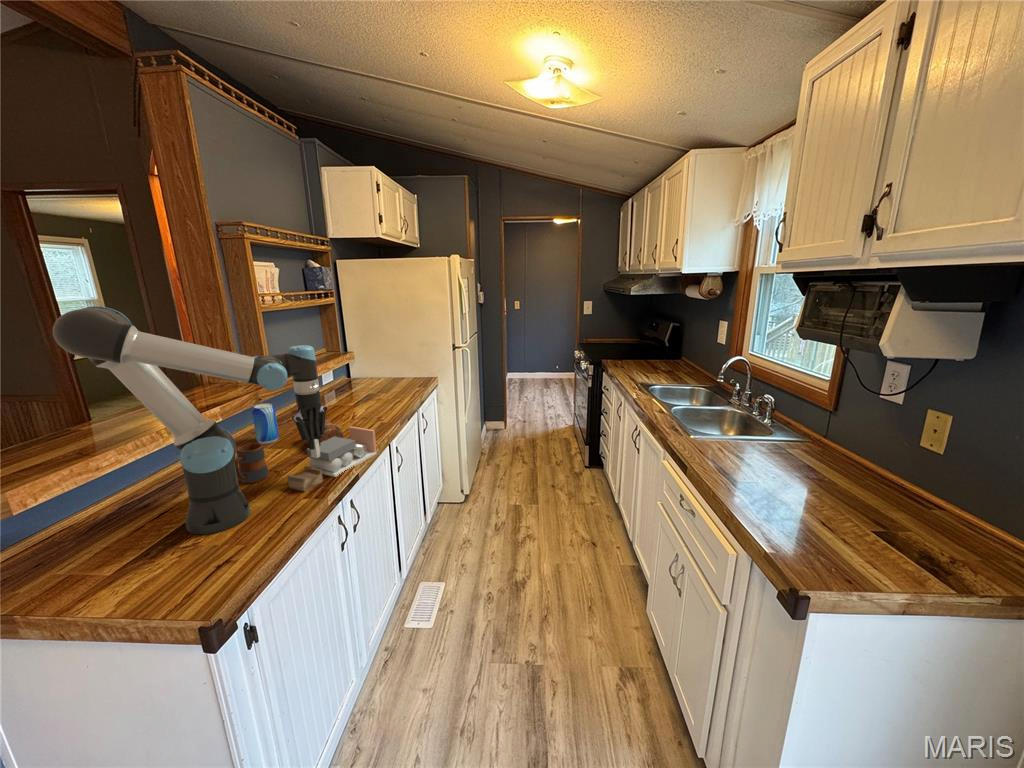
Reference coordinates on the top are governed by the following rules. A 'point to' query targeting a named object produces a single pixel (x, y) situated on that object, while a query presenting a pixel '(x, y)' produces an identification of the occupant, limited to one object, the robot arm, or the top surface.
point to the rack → (305, 479)
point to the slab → (334, 448)
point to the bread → (330, 431)
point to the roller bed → (348, 453)
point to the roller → (359, 450)
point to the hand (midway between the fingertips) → (316, 456)
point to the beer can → (265, 423)
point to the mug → (251, 463)
